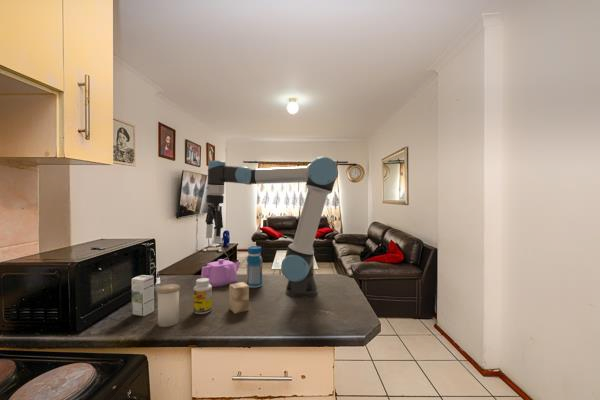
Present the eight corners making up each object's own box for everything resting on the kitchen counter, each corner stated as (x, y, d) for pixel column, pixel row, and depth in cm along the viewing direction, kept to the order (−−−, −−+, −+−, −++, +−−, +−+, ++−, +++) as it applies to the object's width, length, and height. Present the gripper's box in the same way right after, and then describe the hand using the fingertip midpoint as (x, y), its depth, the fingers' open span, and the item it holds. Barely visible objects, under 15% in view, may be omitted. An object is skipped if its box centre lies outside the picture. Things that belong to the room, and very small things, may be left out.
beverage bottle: (251, 289, 138) (251, 249, 137) (243, 285, 144) (243, 247, 144) (265, 285, 143) (265, 247, 143) (256, 281, 150) (257, 245, 149)
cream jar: (183, 319, 104) (183, 284, 104) (170, 328, 97) (170, 291, 97) (166, 317, 106) (166, 283, 106) (152, 325, 99) (152, 289, 99)
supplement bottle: (189, 312, 110) (189, 280, 110) (203, 306, 116) (203, 276, 116) (202, 316, 107) (201, 283, 106) (215, 309, 113) (215, 278, 113)
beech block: (243, 305, 118) (243, 281, 118) (248, 310, 113) (248, 285, 113) (229, 308, 114) (229, 284, 114) (234, 313, 109) (234, 288, 109)
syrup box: (154, 310, 111) (154, 275, 111) (142, 317, 106) (142, 279, 106) (143, 309, 113) (143, 274, 113) (131, 315, 107) (130, 278, 107)
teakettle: (199, 286, 141) (199, 262, 141) (211, 277, 158) (211, 255, 158) (231, 287, 140) (232, 263, 140) (241, 277, 157) (241, 256, 157)
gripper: (200, 193, 135) (198, 236, 135) (214, 195, 114) (211, 246, 114) (215, 194, 139) (213, 235, 139) (232, 196, 118) (229, 245, 118)
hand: (212, 240), depth 127 cm, fingers open, 13 cm apart
